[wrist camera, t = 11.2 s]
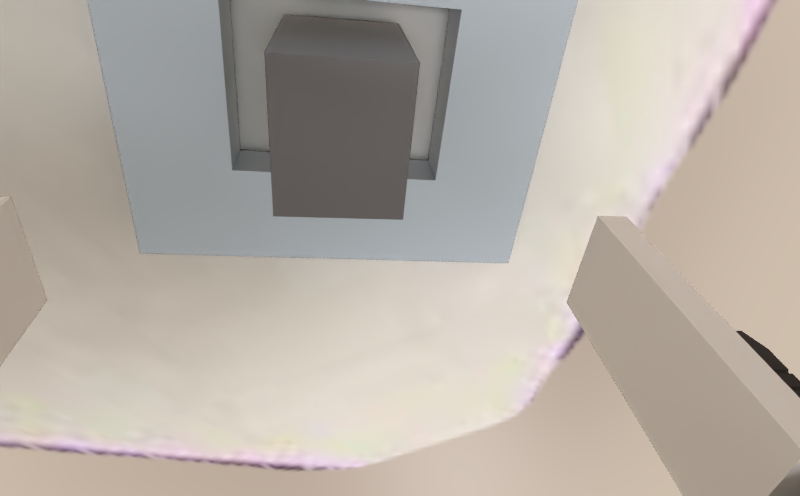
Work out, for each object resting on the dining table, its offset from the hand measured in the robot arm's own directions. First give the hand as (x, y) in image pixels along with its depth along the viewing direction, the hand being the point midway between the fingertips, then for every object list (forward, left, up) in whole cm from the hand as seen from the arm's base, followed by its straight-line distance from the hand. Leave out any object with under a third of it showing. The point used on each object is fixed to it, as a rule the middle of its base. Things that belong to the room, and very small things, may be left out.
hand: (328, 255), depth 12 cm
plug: (0, 0, -16) cm, 16 cm away
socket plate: (0, 0, -16) cm, 16 cm away
